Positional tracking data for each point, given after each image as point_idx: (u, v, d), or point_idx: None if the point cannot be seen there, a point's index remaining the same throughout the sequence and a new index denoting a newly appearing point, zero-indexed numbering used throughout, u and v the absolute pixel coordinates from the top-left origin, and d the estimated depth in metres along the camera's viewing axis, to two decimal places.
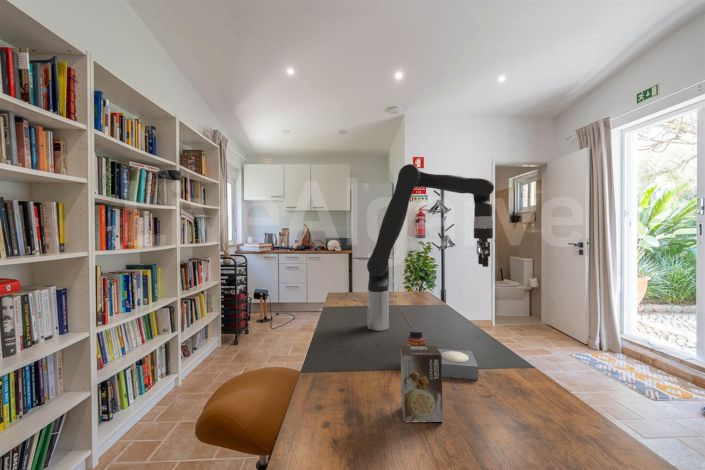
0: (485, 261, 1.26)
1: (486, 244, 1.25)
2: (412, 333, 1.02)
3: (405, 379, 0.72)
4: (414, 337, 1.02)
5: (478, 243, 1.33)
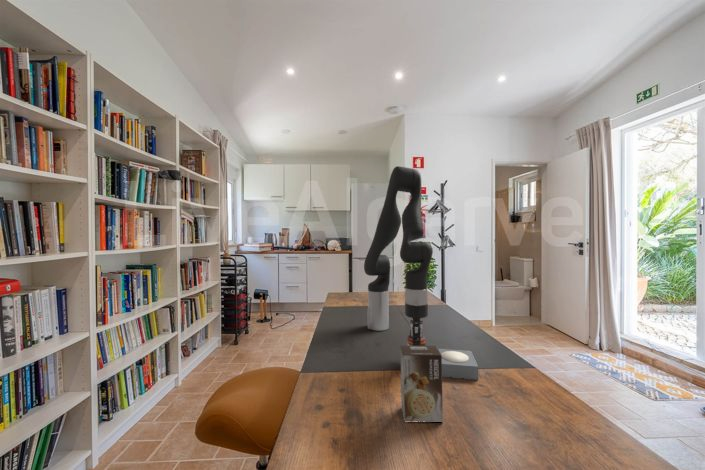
0: None
1: (416, 330, 0.97)
2: None
3: (405, 379, 0.72)
4: None
5: (411, 320, 1.04)
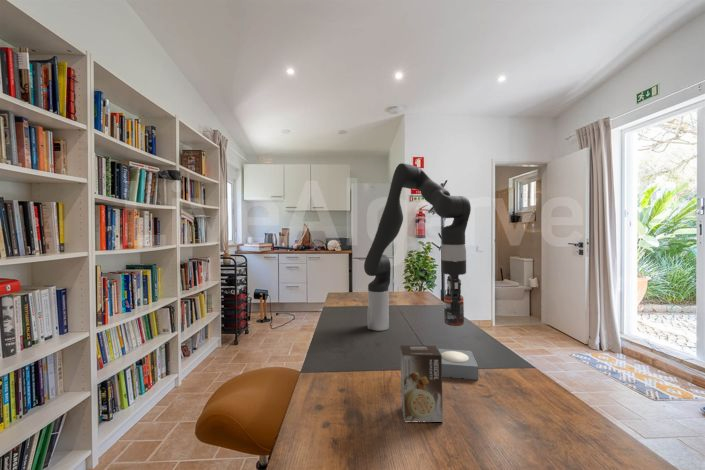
0: (455, 307, 0.94)
1: (456, 286, 0.92)
2: None
3: (405, 379, 0.72)
4: None
5: (447, 279, 1.00)
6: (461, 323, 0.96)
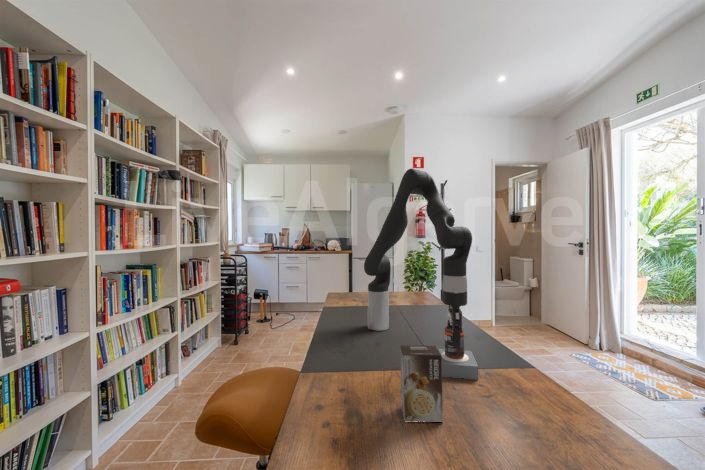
0: (456, 338, 0.94)
1: (457, 316, 0.92)
2: None
3: (405, 379, 0.72)
4: None
5: (448, 309, 1.00)
6: (461, 356, 0.97)
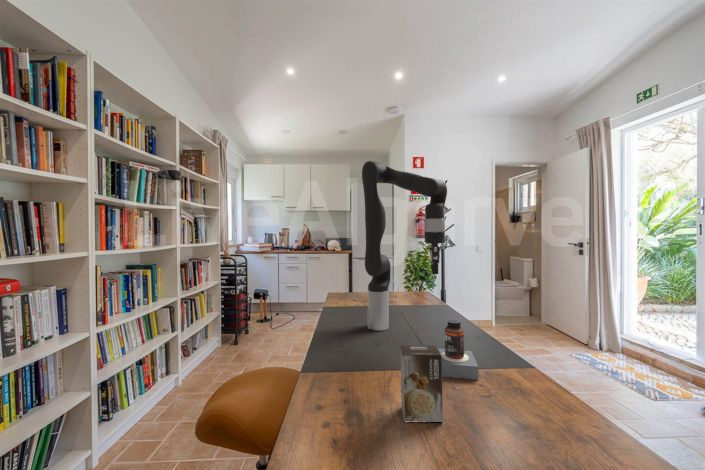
0: (435, 268, 1.15)
1: (435, 249, 1.13)
2: (450, 324, 0.98)
3: (405, 379, 0.72)
4: (452, 328, 0.97)
5: None
6: (461, 356, 0.97)
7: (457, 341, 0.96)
